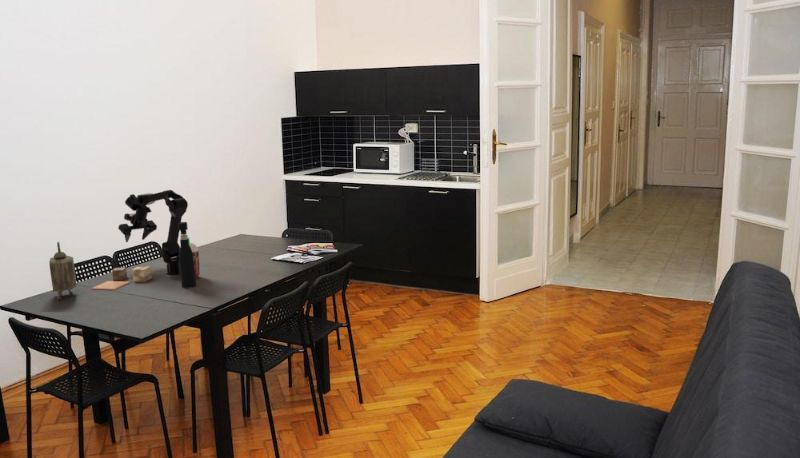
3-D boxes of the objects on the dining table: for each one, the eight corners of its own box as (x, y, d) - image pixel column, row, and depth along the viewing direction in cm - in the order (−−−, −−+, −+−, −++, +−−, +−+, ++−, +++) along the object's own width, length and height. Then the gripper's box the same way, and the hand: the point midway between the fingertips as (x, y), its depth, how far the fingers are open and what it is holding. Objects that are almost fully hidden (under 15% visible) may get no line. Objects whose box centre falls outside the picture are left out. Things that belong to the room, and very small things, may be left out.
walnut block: (127, 277, 344) (126, 267, 343) (123, 279, 339) (122, 269, 338) (117, 277, 344) (115, 267, 343) (113, 280, 339) (112, 270, 338)
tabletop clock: (56, 293, 319) (48, 240, 314) (77, 290, 322) (70, 237, 318) (54, 301, 306) (46, 246, 301) (77, 298, 309) (69, 243, 304)
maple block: (151, 278, 340) (150, 266, 338) (144, 281, 334) (143, 269, 333) (140, 278, 341) (139, 266, 340) (133, 281, 335) (132, 269, 334)
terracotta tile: (129, 282, 332) (129, 281, 332) (114, 289, 321) (114, 288, 321) (107, 282, 335) (107, 281, 335) (91, 289, 324) (91, 288, 323)
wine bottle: (183, 288, 318) (176, 224, 312) (180, 285, 323) (174, 222, 317) (197, 286, 321) (191, 222, 315) (194, 283, 326) (188, 220, 320)
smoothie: (205, 276, 339) (201, 236, 335) (193, 280, 331) (189, 239, 327) (191, 275, 342) (187, 235, 338) (180, 279, 335) (175, 238, 331)
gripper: (149, 205, 365) (143, 229, 372) (115, 208, 351) (110, 234, 357) (160, 216, 360) (153, 241, 367) (127, 221, 345) (120, 246, 352)
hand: (134, 240), depth 361 cm, fingers open, 9 cm apart
